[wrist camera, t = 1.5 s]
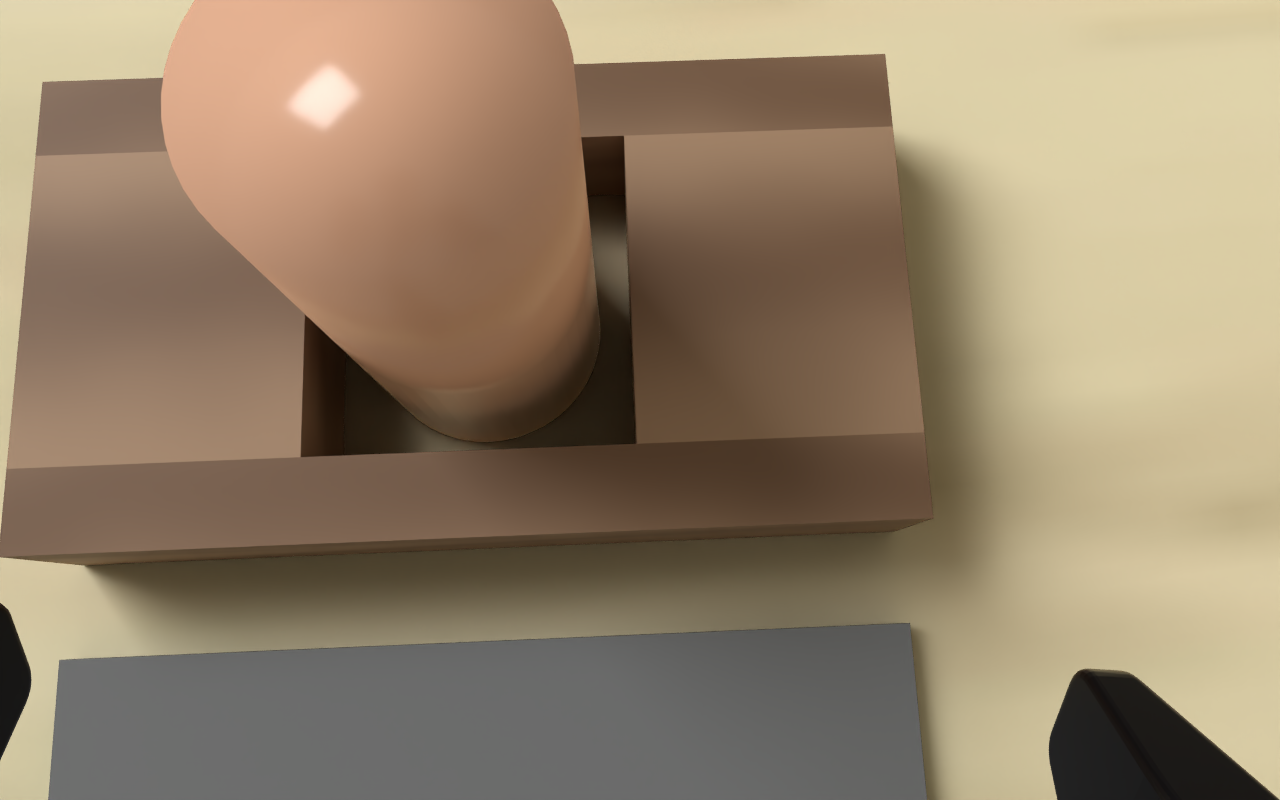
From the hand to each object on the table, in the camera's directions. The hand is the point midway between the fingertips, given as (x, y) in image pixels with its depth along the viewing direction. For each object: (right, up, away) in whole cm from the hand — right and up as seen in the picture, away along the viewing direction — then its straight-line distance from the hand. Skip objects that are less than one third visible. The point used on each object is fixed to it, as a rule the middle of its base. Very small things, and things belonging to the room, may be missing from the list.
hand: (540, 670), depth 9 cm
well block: (-3, +4, +15) cm, 16 cm away
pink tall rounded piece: (-3, +4, +15) cm, 16 cm away
